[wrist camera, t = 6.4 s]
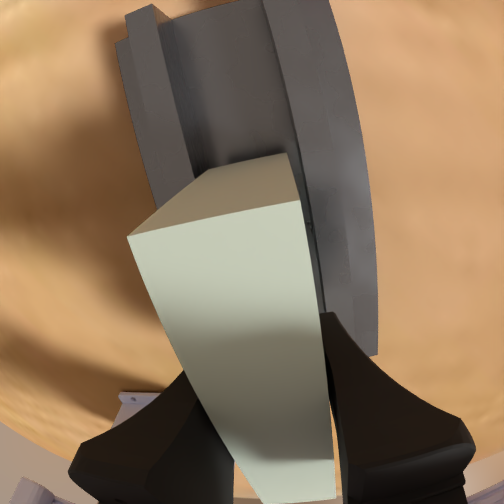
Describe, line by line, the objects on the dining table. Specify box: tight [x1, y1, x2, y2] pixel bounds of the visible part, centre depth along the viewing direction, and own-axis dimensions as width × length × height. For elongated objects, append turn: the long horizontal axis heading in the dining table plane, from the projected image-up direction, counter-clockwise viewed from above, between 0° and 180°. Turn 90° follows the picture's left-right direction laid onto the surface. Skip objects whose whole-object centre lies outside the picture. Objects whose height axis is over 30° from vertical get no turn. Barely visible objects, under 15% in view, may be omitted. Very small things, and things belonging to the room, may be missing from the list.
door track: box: [115, 0, 378, 357], centre depth 14 cm, size 20×10×3 cm, turn 13°
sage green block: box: [127, 152, 336, 504], centre depth 10 cm, size 12×4×7 cm, turn 13°
